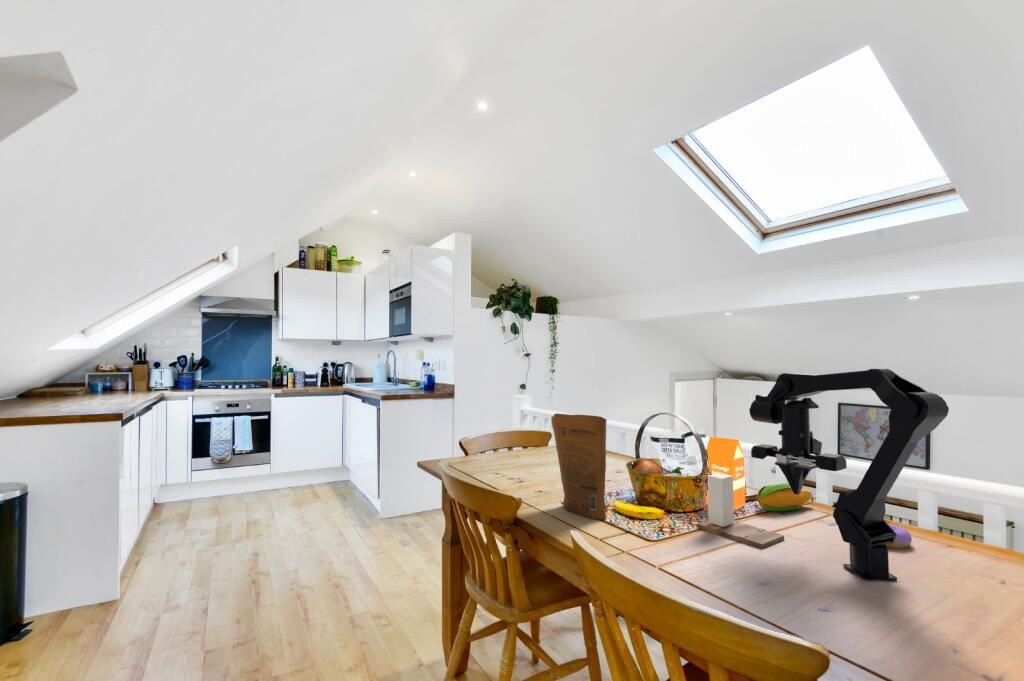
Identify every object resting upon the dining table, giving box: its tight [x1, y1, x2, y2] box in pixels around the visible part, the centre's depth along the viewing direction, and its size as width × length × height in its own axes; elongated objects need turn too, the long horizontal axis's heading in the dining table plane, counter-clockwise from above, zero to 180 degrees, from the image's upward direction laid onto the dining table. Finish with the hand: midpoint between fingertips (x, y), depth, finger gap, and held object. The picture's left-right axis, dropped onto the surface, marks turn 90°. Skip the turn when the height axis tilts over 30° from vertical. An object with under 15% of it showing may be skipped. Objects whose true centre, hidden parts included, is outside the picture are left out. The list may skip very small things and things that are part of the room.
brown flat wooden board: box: [696, 519, 785, 550], centre depth 118 cm, size 17×10×1 cm, turn 34°
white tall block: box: [707, 473, 735, 527], centre depth 123 cm, size 4×5×12 cm
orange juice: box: [706, 436, 746, 510], centre depth 142 cm, size 8×9×20 cm
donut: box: [886, 523, 913, 549], centre depth 113 cm, size 10×9×5 cm
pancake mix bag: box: [550, 413, 608, 520], centre depth 135 cm, size 7×19×28 cm, turn 39°
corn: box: [756, 483, 813, 513], centre depth 139 cm, size 7×8×20 cm
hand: (796, 494), depth 110 cm, fingers closed
